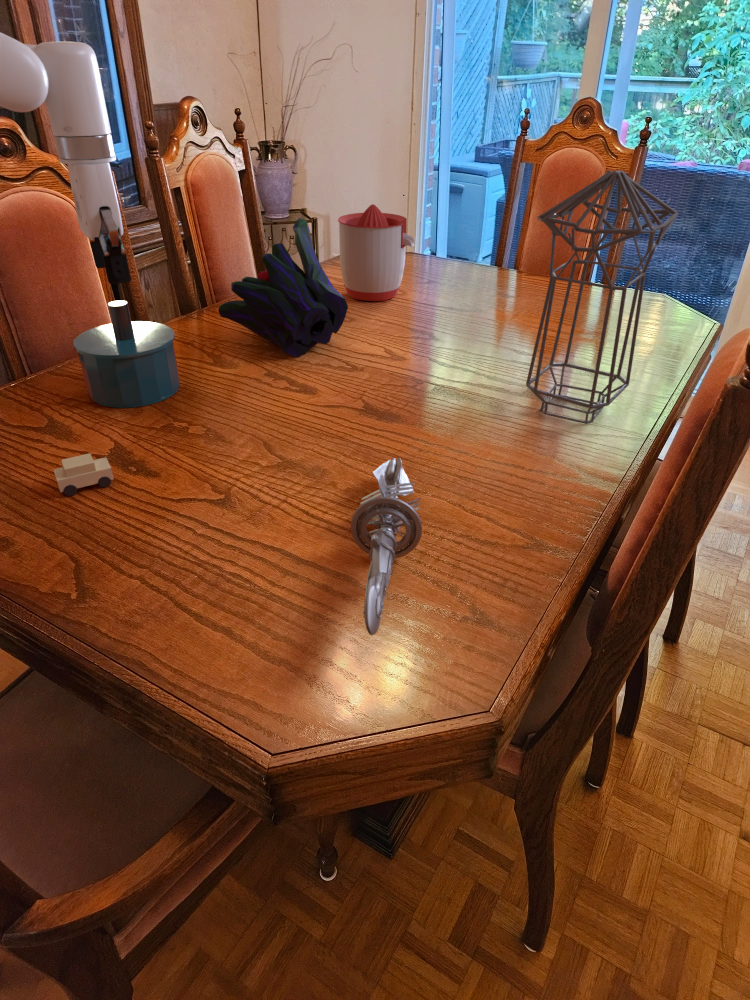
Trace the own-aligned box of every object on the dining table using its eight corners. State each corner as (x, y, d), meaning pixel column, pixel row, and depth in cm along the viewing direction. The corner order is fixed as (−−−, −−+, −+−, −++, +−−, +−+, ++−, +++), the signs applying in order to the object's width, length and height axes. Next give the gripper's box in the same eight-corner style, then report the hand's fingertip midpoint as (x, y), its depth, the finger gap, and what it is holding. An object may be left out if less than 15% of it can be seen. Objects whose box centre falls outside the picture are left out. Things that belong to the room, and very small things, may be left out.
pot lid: (69, 366, 100) (58, 323, 96) (80, 331, 113) (70, 292, 109) (176, 357, 103) (168, 315, 100) (175, 324, 116) (168, 286, 112)
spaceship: (311, 607, 57) (397, 584, 55) (357, 446, 88) (414, 428, 86) (346, 674, 60) (428, 655, 58) (379, 497, 91) (433, 480, 89)
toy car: (62, 498, 85) (54, 473, 83) (58, 485, 87) (50, 460, 85) (115, 485, 87) (109, 460, 85) (110, 473, 90) (104, 448, 88)
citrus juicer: (407, 307, 150) (411, 213, 139) (332, 302, 152) (330, 209, 141) (416, 288, 163) (420, 199, 152) (347, 283, 165) (345, 196, 154)
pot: (85, 412, 105) (72, 361, 100) (93, 376, 117) (82, 329, 112) (180, 402, 108) (172, 353, 103) (179, 368, 120) (171, 322, 115)
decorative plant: (280, 404, 129) (216, 322, 144) (389, 334, 133) (315, 261, 148) (242, 328, 112) (173, 244, 127) (369, 250, 115) (287, 177, 130)
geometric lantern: (634, 406, 109) (692, 169, 89) (602, 444, 98) (661, 184, 78) (543, 383, 116) (579, 159, 96) (504, 416, 105) (536, 172, 86)
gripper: (48, 144, 97) (78, 264, 107) (67, 158, 85) (98, 293, 94) (101, 141, 100) (125, 258, 110) (127, 154, 88) (151, 285, 97)
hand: (113, 274), depth 102 cm, fingers open, 9 cm apart
